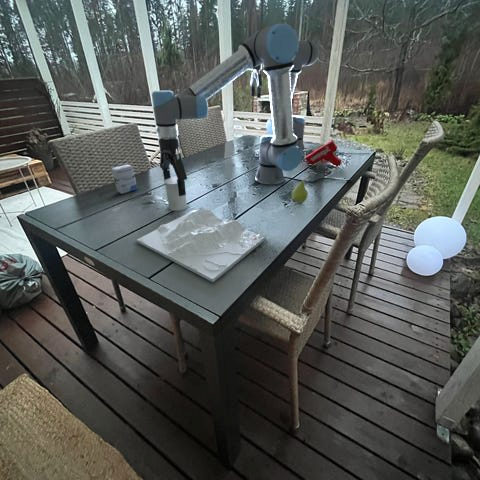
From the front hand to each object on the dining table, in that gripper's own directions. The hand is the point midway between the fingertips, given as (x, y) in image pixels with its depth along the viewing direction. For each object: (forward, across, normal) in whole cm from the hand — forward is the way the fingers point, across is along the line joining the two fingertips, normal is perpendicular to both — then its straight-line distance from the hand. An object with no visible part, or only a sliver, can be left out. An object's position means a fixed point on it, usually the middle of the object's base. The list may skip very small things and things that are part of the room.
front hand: (175, 190), depth 114 cm
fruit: (+7, +29, +46) cm, 55 cm away
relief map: (+8, +31, -6) cm, 32 cm away
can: (+8, 0, 0) cm, 8 cm away
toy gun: (+7, +2, +95) cm, 95 cm away
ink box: (+8, -32, -12) cm, 35 cm away
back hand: (-25, -72, +102) cm, 128 cm away
